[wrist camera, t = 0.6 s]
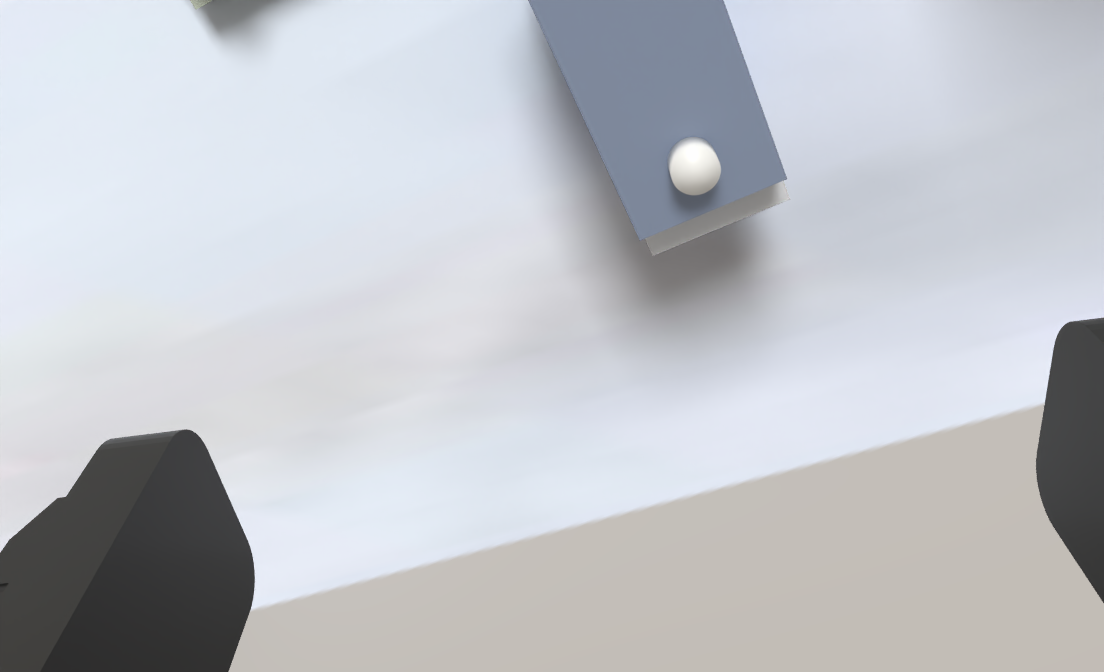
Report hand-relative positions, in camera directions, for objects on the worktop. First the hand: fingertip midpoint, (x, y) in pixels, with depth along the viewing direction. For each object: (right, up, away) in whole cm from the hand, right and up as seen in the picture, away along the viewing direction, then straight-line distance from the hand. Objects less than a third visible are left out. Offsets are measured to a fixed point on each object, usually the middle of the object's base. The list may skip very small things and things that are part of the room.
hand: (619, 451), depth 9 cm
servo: (+2, +10, +18) cm, 21 cm away
